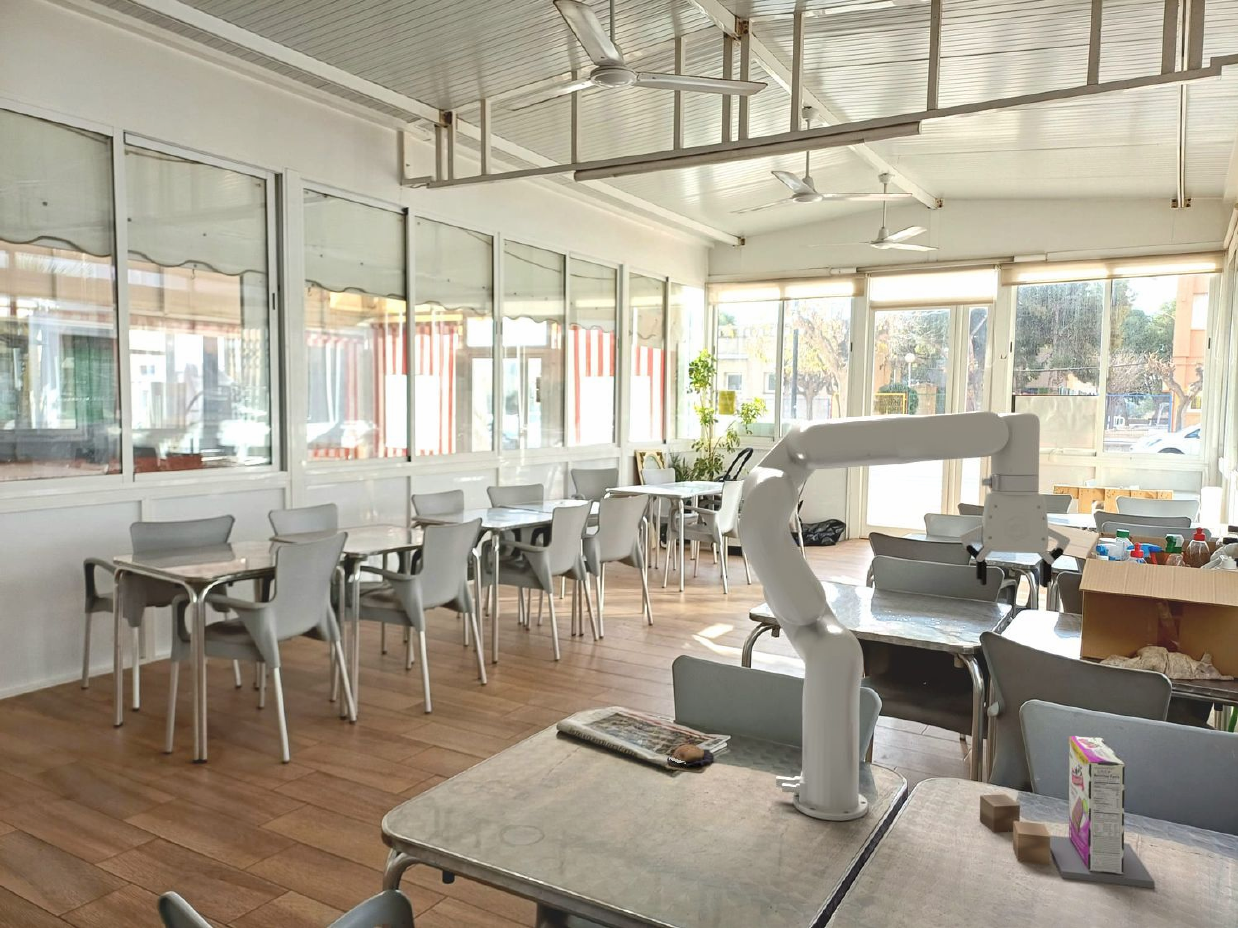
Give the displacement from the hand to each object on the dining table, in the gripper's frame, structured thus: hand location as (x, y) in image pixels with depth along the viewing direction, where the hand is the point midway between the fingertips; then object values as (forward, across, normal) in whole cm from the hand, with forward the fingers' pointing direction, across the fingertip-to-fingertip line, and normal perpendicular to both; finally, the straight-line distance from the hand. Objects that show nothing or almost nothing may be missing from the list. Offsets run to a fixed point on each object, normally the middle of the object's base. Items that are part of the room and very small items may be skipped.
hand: (1013, 585), depth 153 cm
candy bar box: (+38, +9, -19) cm, 43 cm away
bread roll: (+39, -57, +7) cm, 69 cm away
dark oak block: (+38, -3, -9) cm, 40 cm away
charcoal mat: (+38, +9, -19) cm, 44 cm away
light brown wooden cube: (+38, 0, -19) cm, 43 cm away
